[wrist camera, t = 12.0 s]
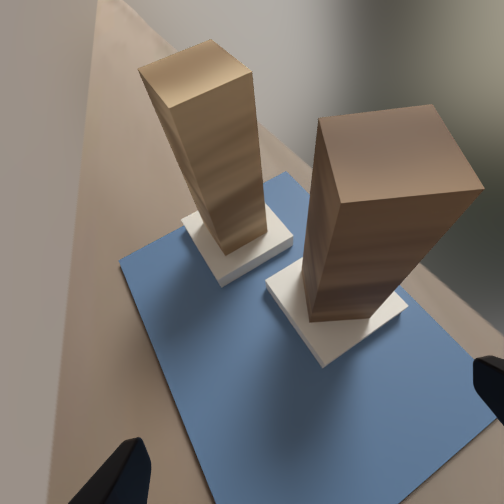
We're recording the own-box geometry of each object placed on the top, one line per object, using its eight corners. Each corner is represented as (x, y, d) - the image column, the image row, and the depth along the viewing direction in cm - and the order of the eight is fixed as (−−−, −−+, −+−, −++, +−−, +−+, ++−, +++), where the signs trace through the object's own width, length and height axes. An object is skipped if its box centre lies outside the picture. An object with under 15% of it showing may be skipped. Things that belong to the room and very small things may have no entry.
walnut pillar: (369, 318, 19) (484, 188, 8) (309, 322, 19) (341, 202, 8) (355, 265, 21) (432, 104, 10) (301, 269, 21) (318, 117, 10)
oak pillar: (267, 232, 23) (252, 71, 12) (225, 256, 22) (168, 108, 11) (243, 201, 25) (210, 39, 14) (203, 222, 24) (137, 68, 13)
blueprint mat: (508, 401, 17) (534, 400, 16) (264, 613, 14) (261, 643, 12) (286, 175, 29) (286, 159, 27) (121, 263, 25) (109, 252, 24)
